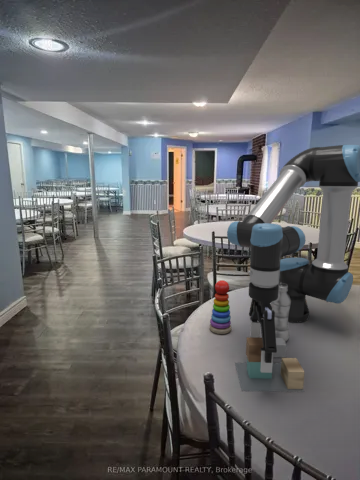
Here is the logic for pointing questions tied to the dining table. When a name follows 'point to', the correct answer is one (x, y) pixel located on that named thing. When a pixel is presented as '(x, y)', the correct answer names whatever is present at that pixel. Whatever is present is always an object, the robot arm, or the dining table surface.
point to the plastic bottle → (282, 312)
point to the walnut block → (254, 349)
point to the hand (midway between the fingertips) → (259, 356)
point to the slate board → (263, 380)
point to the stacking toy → (221, 309)
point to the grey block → (280, 348)
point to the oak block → (292, 373)
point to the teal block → (256, 370)
